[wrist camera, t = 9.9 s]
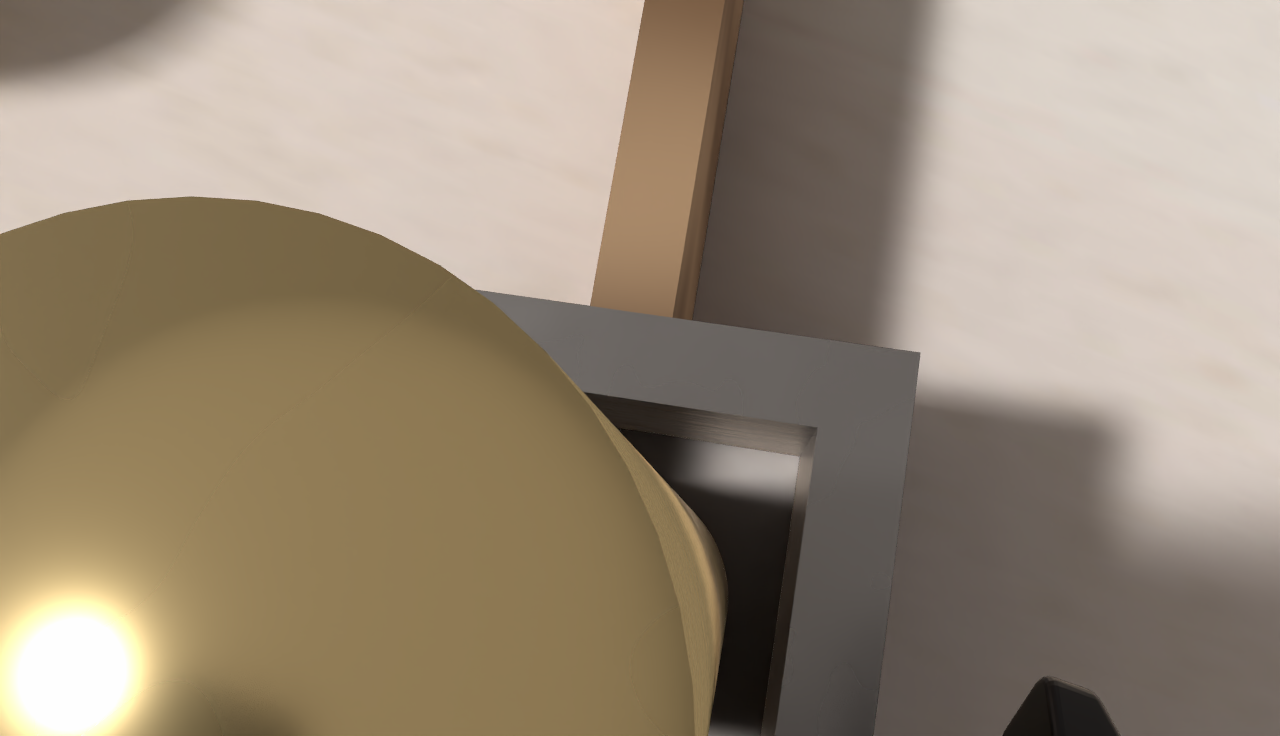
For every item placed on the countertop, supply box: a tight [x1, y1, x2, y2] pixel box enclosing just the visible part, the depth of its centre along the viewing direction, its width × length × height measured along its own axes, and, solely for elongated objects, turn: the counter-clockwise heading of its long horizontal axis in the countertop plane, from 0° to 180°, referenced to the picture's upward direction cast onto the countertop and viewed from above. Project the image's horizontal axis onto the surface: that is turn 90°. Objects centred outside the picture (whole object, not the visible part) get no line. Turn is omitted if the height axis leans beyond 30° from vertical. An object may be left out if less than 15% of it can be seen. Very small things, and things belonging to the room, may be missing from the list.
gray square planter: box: [476, 290, 920, 736], centre depth 15 cm, size 8×8×4 cm
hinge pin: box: [0, 197, 728, 736], centre depth 10 cm, size 4×4×14 cm
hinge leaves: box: [590, 0, 744, 320], centre depth 16 cm, size 30×1×4 cm, turn 170°
